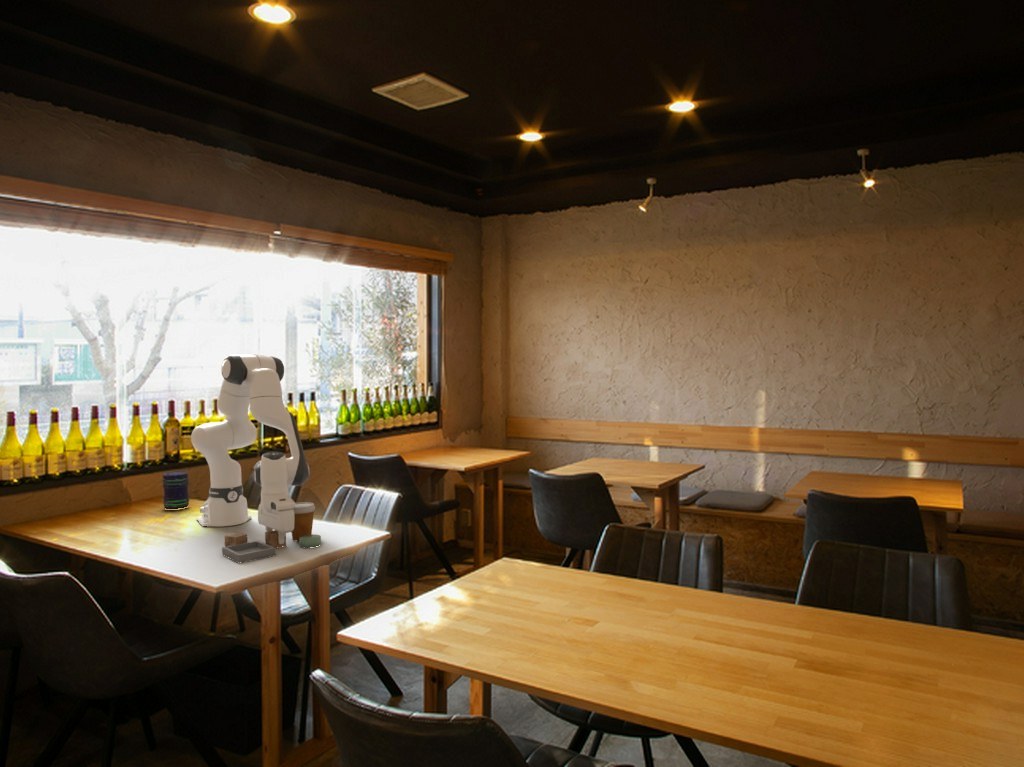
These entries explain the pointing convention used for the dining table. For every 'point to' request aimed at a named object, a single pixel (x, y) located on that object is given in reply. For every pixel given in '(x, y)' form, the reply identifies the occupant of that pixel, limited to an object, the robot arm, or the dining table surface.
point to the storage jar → (175, 490)
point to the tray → (248, 551)
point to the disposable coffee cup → (303, 519)
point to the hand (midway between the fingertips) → (275, 541)
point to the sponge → (310, 541)
